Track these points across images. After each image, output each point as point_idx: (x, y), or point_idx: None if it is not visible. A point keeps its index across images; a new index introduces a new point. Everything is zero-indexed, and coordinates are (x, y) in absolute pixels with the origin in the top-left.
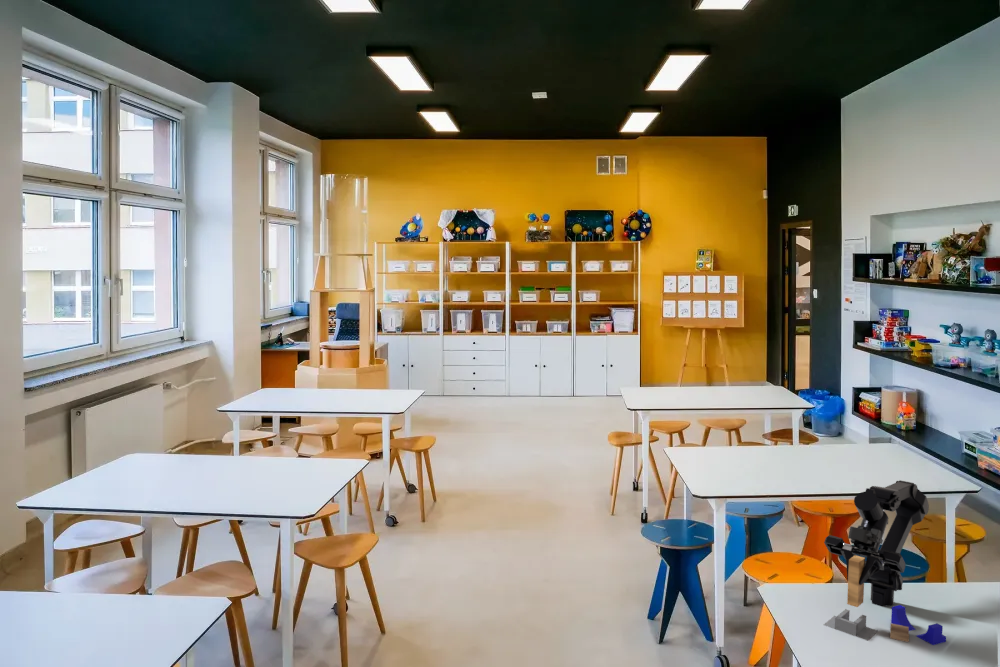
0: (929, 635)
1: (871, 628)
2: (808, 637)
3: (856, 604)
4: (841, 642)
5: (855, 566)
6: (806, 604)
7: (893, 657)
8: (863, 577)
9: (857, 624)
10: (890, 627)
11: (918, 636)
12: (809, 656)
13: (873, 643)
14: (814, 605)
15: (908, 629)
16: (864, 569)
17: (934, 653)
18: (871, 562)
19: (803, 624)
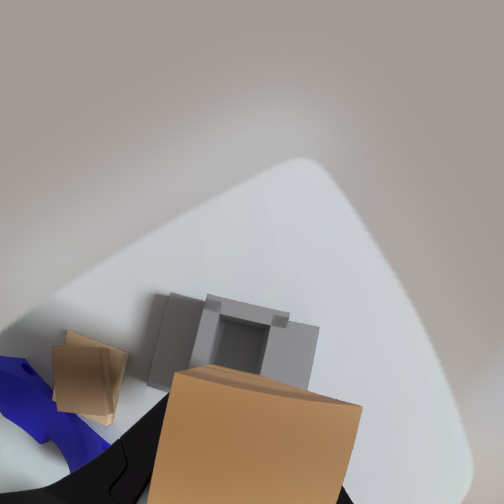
0: (8, 365)
1: (168, 391)
2: (337, 256)
3: (215, 365)
4: (248, 278)
5: (235, 381)
6: (386, 467)
7: (106, 265)
8: (160, 404)
9: (204, 308)
10: (111, 412)
11: (42, 392)
12: (304, 161)
13: (159, 326)
14: (365, 478)
15: (55, 391)
16: (144, 460)
17: (21, 345)
18: (43, 502)
19: (370, 331)
